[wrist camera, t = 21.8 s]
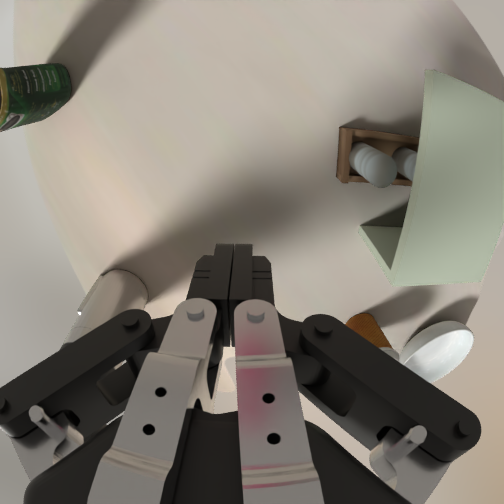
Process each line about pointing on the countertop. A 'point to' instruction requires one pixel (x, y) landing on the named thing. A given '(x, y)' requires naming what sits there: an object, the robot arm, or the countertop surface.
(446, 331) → the serving bowl
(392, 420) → the robot arm
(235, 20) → the countertop surface
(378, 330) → the disposable coffee cup
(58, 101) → the coffee jar
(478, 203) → the sage green storage bin
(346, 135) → the tray
